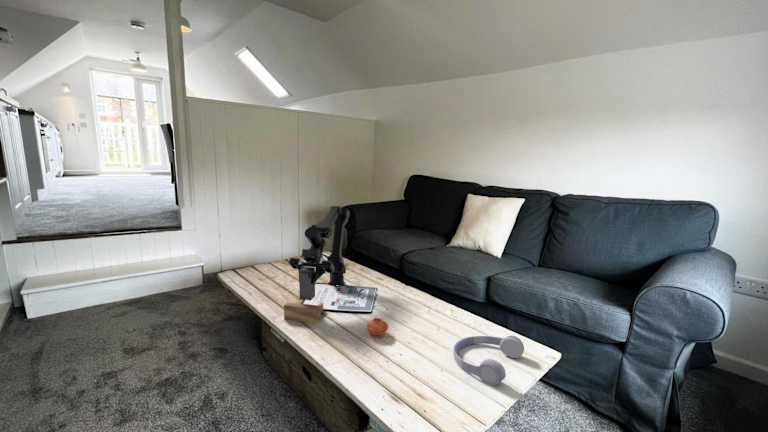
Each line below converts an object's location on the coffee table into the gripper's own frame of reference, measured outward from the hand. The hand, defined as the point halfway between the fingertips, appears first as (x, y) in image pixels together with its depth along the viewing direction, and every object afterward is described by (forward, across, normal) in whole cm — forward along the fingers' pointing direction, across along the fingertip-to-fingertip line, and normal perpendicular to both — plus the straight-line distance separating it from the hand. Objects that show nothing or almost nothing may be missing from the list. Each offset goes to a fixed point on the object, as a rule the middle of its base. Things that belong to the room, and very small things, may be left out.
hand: (305, 283), depth 139 cm
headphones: (+20, +70, 0) cm, 73 cm away
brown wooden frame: (+9, 0, +10) cm, 14 cm away
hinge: (-30, -13, +50) cm, 60 cm away
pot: (+15, +32, +4) cm, 36 cm away
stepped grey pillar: (+4, 0, +6) cm, 7 cm away
